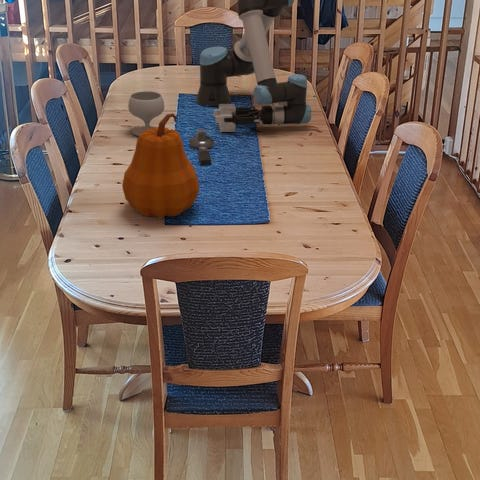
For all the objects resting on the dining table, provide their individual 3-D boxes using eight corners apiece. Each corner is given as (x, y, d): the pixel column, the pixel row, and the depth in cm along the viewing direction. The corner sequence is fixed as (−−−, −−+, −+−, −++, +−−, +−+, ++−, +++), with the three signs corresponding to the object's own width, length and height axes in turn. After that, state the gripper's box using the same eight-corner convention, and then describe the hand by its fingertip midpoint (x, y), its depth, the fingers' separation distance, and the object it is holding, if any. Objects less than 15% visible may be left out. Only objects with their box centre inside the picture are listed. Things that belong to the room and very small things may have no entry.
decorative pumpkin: (161, 187, 251) (158, 99, 237) (215, 207, 238) (215, 115, 224) (107, 210, 235) (101, 117, 221) (162, 233, 221) (158, 136, 207)
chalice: (122, 134, 295) (120, 97, 288) (142, 124, 306) (141, 88, 299) (152, 141, 290) (151, 103, 283) (172, 130, 301) (171, 93, 294)
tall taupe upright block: (218, 128, 304) (219, 104, 299) (233, 127, 305) (234, 103, 300) (220, 133, 299) (220, 108, 294) (235, 132, 299) (235, 108, 295)
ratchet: (189, 142, 289) (188, 127, 287) (212, 141, 290) (212, 126, 288) (193, 165, 268) (193, 149, 265) (218, 164, 269) (218, 149, 266)
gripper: (275, 132, 294) (217, 133, 291) (267, 116, 312) (212, 117, 309) (276, 113, 291) (217, 115, 288) (268, 98, 308) (212, 99, 305)
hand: (214, 116), depth 298 cm, fingers open, 7 cm apart
